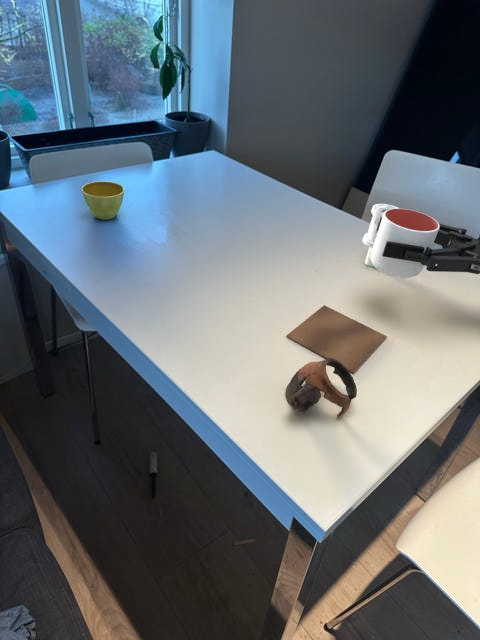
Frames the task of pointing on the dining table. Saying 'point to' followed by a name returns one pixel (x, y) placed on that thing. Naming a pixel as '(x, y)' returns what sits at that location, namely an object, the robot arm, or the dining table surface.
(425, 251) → the robot arm
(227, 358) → the dining table surface
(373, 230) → the white openwork cylinder
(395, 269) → the cup
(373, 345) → the coaster
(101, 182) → the flower pot
